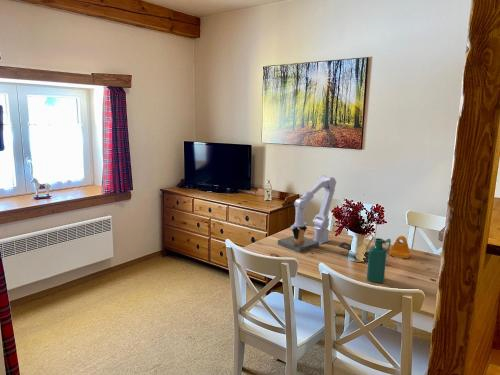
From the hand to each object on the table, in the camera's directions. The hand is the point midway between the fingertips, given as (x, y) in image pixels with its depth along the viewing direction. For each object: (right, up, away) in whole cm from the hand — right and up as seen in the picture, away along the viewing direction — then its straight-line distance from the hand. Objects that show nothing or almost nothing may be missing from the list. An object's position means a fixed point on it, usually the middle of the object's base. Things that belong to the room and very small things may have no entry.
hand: (298, 238), depth 245 cm
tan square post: (0, -3, 0) cm, 3 cm away
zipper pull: (+34, -10, -18) cm, 40 cm away
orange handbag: (+60, -10, -12) cm, 62 cm away
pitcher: (+34, -15, -48) cm, 61 cm away
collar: (0, -5, +1) cm, 5 cm away
